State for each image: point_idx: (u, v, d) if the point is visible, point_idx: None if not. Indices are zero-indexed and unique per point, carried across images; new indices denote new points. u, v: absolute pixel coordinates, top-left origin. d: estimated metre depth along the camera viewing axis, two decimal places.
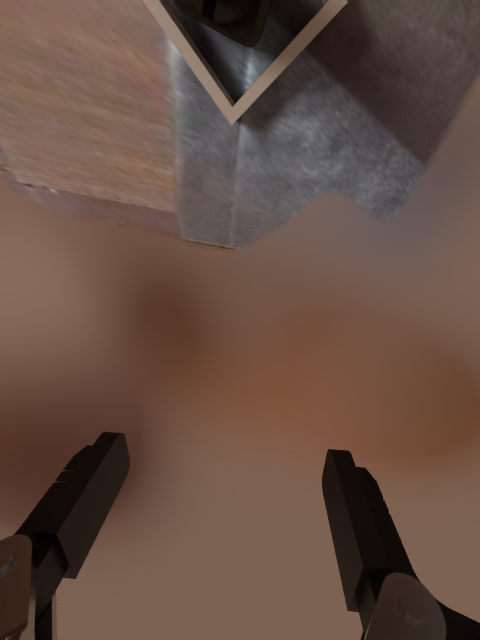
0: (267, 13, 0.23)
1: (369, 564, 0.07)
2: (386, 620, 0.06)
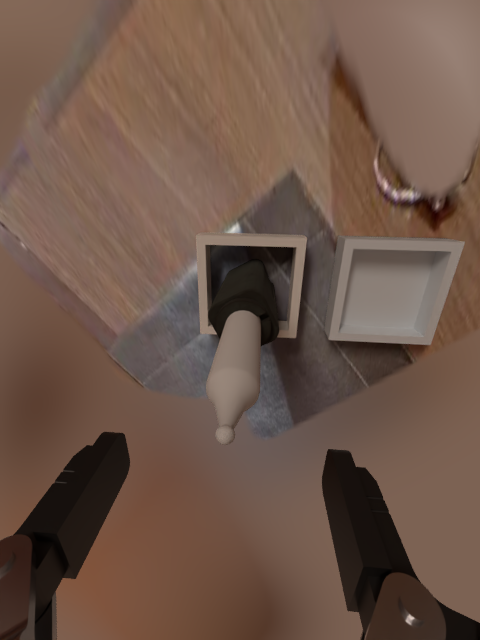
0: None
1: (369, 564, 0.07)
2: (386, 620, 0.06)
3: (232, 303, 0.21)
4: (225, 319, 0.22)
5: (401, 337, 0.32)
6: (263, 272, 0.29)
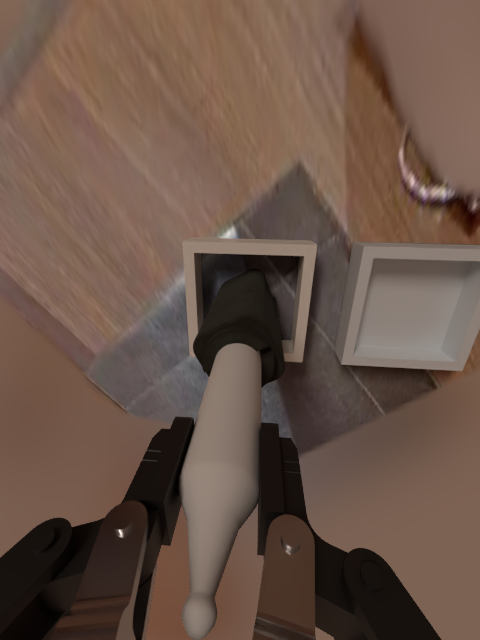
0: None
1: (266, 509, 0.08)
2: (265, 547, 0.07)
3: (224, 334, 0.16)
4: (215, 354, 0.17)
5: (427, 362, 0.27)
6: (264, 286, 0.24)
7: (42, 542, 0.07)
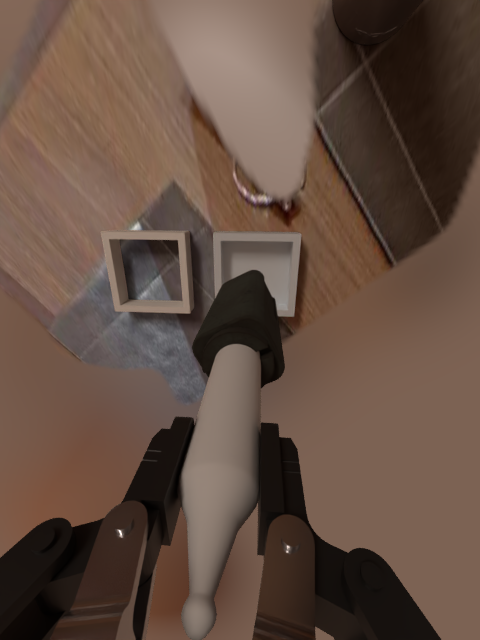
0: None
1: (266, 509, 0.08)
2: (265, 547, 0.07)
3: (223, 335, 0.16)
4: (214, 355, 0.17)
5: None
6: (263, 287, 0.24)
7: (42, 542, 0.07)
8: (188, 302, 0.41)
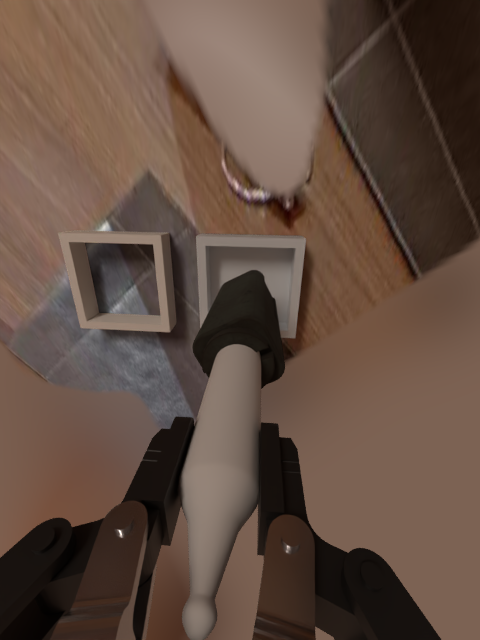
0: None
1: (266, 509, 0.08)
2: (265, 547, 0.07)
3: (224, 335, 0.16)
4: (214, 355, 0.17)
5: None
6: (263, 287, 0.24)
7: (42, 542, 0.07)
8: (167, 319, 0.34)
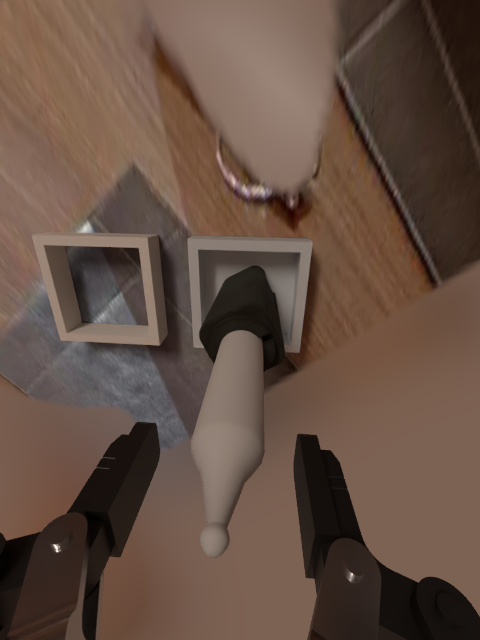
0: None
1: (321, 531, 0.07)
2: (328, 576, 0.06)
3: (229, 321, 0.17)
4: (220, 340, 0.18)
5: None
6: (264, 281, 0.25)
7: None
8: (156, 331, 0.30)
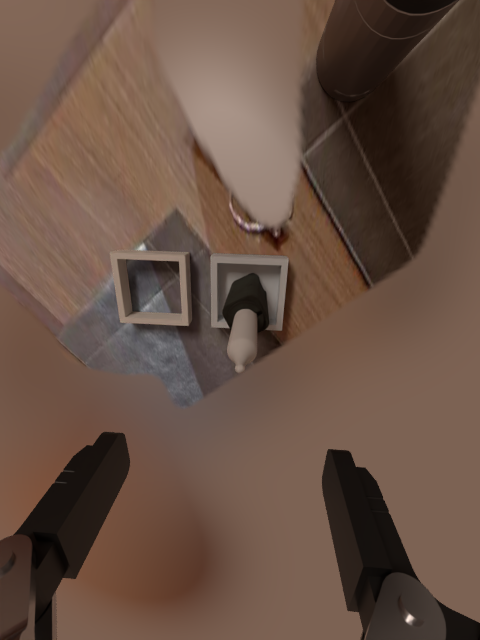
0: None
1: (369, 564, 0.07)
2: (386, 620, 0.06)
3: (239, 304, 0.33)
4: (234, 314, 0.33)
5: None
6: (258, 283, 0.41)
7: None
8: (187, 316, 0.46)
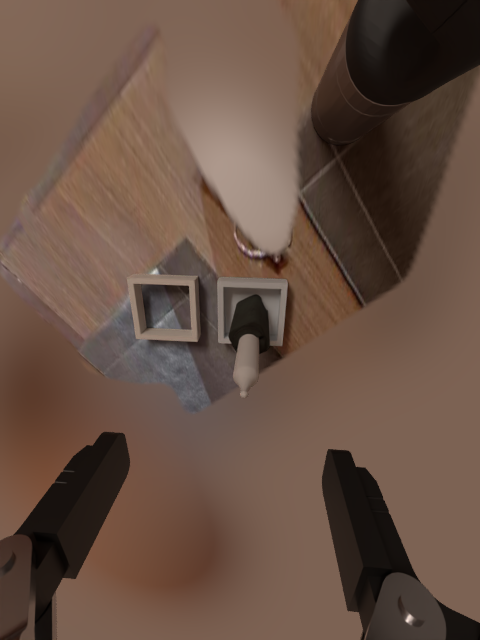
0: None
1: (369, 564, 0.07)
2: (386, 620, 0.06)
3: (243, 330, 0.37)
4: (238, 339, 0.38)
5: None
6: (261, 305, 0.45)
7: None
8: (196, 333, 0.51)
